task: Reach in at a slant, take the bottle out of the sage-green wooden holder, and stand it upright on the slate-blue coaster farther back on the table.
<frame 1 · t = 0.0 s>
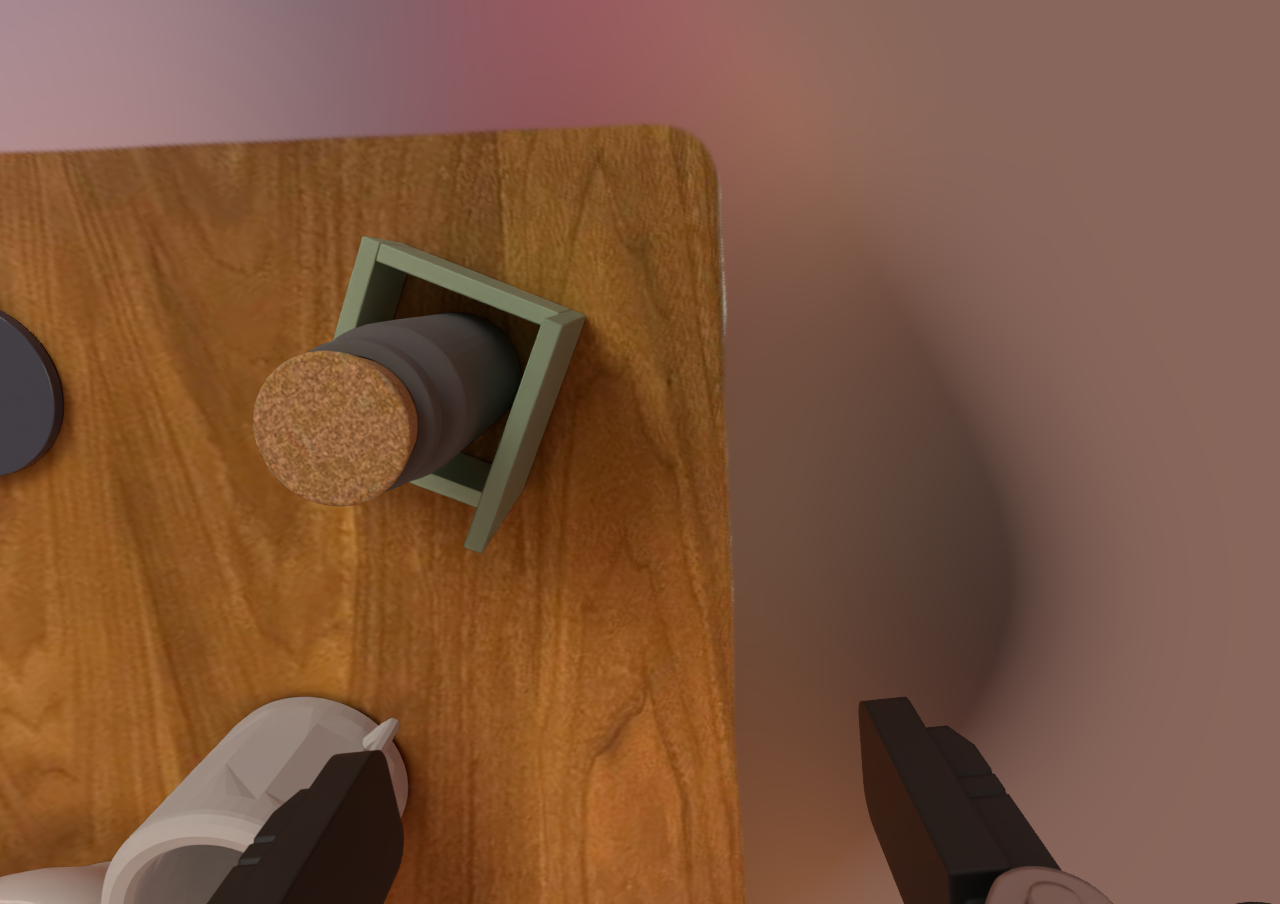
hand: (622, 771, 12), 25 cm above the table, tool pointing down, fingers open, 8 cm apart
holder: (463, 371, 36), on the table
bottle: (464, 370, 36), resting in holder
mug: (336, 759, 41), on the table
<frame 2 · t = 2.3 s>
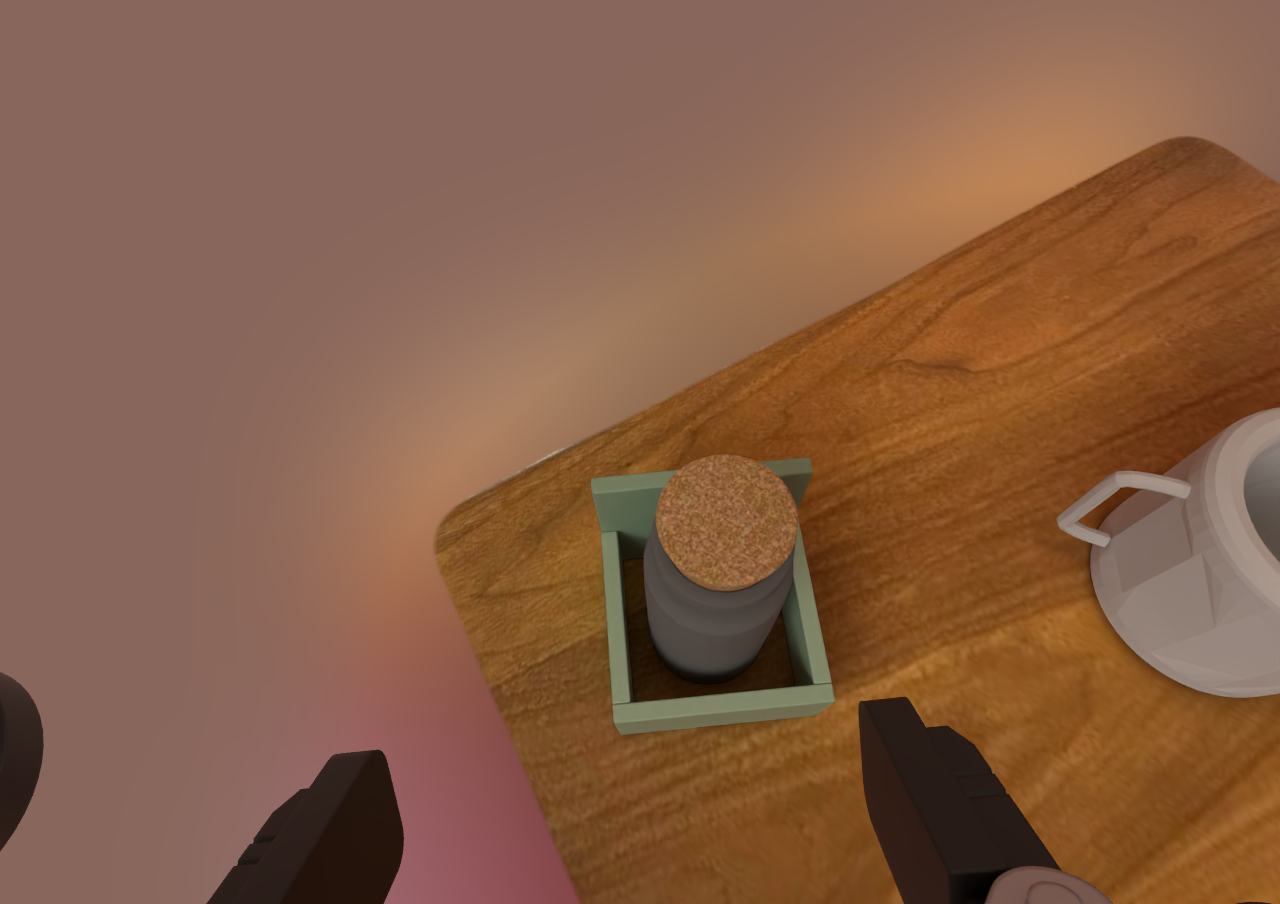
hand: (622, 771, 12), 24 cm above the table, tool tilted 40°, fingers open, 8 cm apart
holder: (705, 626, 37), on the table
bottle: (705, 627, 37), resting in holder
mug: (1164, 582, 37), on the table
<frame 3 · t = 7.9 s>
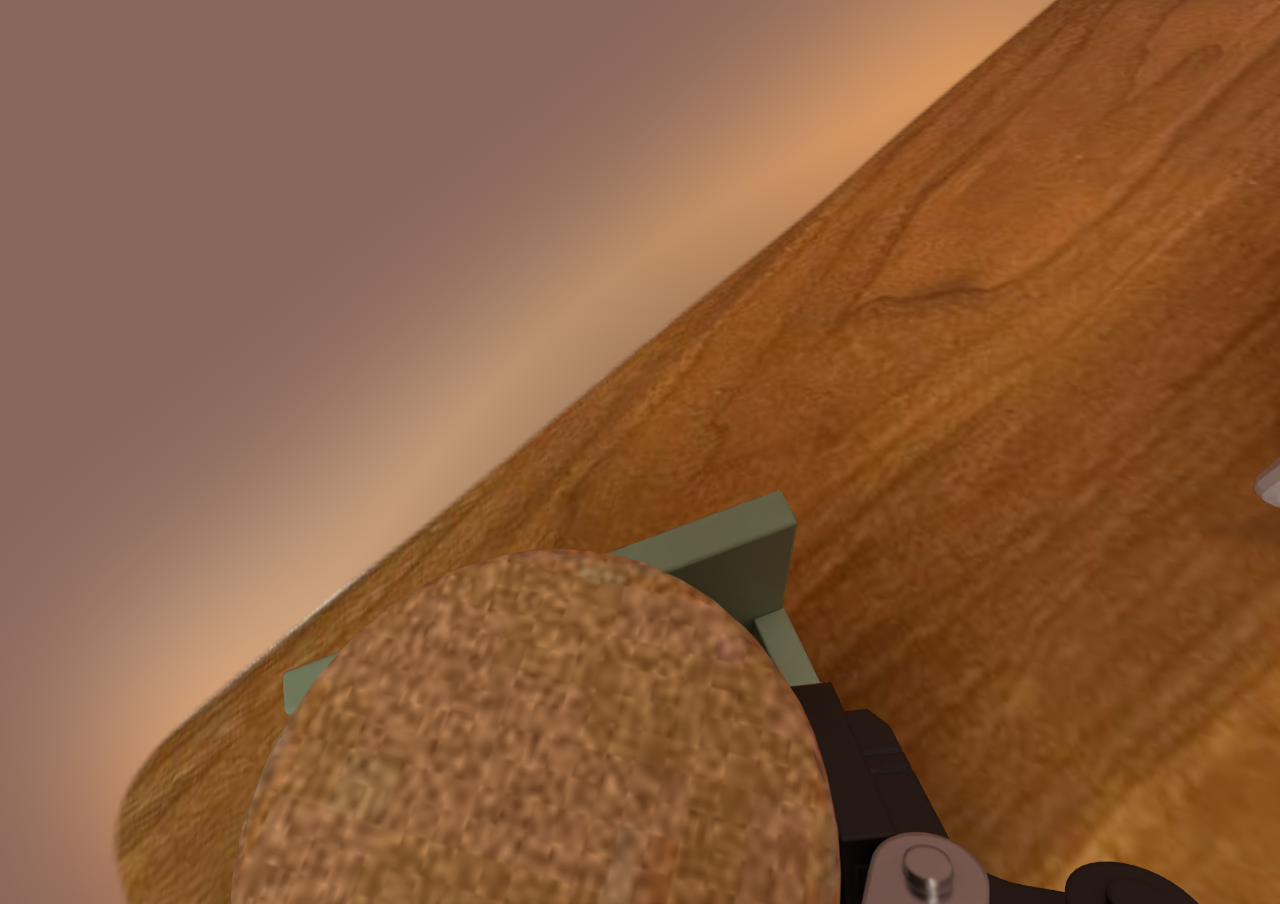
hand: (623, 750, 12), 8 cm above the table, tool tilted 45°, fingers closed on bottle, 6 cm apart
holder: (667, 875, 18), on the table
bottle: (667, 875, 18), resting in holder, touching gripper
when the fingers open (8 cm above the table, at t = 17.4 s): bottle stays where it is, resting on coaster.
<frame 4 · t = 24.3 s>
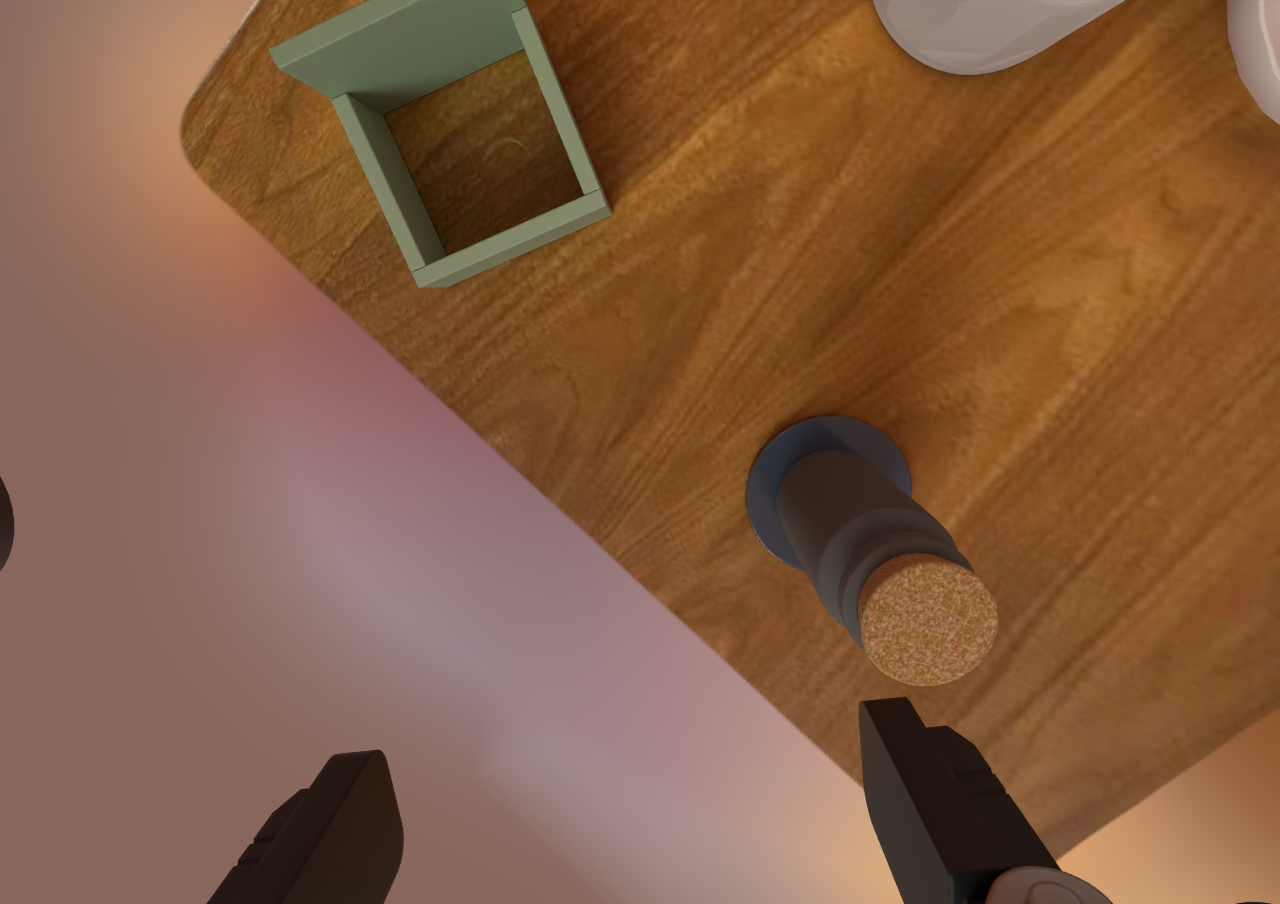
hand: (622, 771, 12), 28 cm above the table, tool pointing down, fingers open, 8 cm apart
coaster: (826, 493, 40), on the table
holder: (489, 161, 36), on the table
bottle: (827, 498, 40), resting on coaster
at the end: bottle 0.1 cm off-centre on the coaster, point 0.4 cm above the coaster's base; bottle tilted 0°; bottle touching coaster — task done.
